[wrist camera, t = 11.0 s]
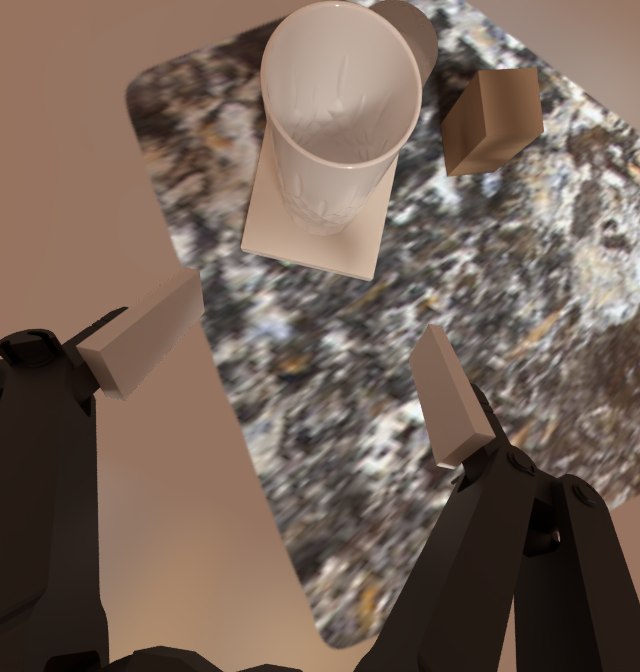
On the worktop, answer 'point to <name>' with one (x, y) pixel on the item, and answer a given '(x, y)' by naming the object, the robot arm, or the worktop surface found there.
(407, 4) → the grey tin
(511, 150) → the walnut block
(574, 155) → the worktop surface
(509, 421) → the worktop surface
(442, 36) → the worktop surface
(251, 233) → the tile
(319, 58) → the white cup
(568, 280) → the worktop surface
